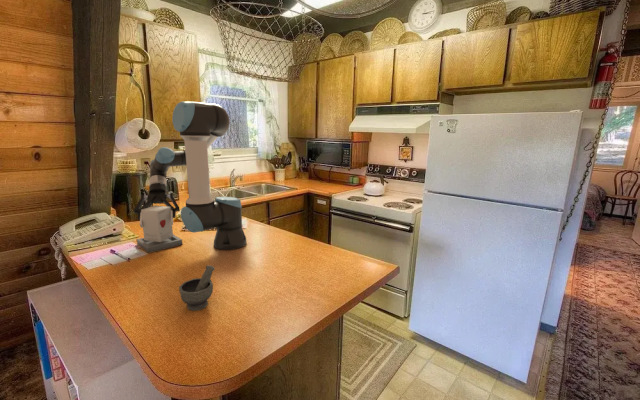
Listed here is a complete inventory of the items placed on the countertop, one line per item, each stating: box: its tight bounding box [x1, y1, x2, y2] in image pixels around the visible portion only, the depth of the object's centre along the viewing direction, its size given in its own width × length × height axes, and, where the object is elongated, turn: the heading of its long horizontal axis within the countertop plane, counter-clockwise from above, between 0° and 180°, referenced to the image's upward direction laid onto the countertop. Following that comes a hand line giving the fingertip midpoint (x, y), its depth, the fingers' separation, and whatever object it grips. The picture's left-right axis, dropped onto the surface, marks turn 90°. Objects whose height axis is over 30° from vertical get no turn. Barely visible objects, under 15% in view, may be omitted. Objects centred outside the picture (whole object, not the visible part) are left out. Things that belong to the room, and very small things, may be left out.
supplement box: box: [141, 205, 174, 242], centre depth 141 cm, size 9×9×15 cm
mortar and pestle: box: [178, 264, 216, 312], centre depth 94 cm, size 11×9×12 cm
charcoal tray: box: [136, 234, 183, 254], centre depth 143 cm, size 15×15×2 cm
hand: (156, 225), depth 139 cm, fingers closed on supplement box, 12 cm apart
